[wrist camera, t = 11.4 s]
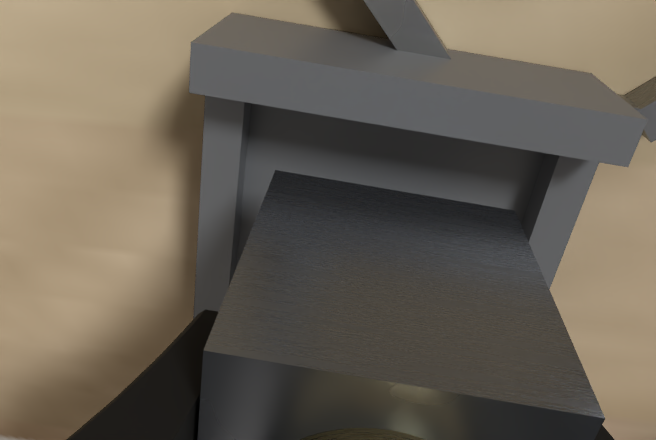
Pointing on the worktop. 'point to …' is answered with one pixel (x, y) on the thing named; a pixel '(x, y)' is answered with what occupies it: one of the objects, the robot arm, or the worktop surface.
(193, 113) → the worktop surface
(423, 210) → the gold-capped square jar
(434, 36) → the socket
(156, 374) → the robot arm
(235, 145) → the rack
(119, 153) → the worktop surface
